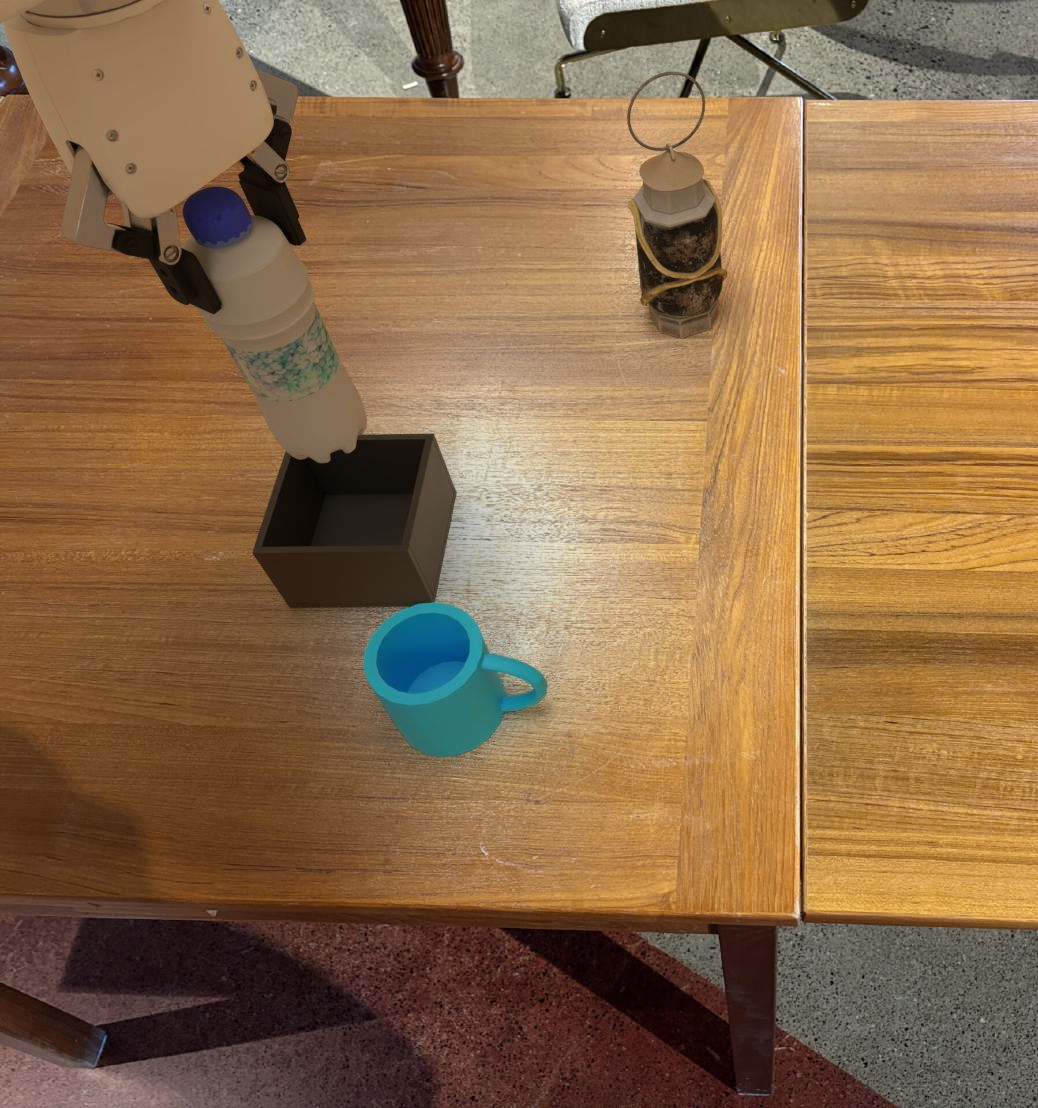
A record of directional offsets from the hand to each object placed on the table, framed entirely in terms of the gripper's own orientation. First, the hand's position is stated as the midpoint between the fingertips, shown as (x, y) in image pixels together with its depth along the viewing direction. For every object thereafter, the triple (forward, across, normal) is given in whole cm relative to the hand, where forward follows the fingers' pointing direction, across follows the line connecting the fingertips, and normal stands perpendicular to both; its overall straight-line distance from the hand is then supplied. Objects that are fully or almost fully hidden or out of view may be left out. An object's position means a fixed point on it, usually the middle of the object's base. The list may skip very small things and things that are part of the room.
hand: (243, 267), depth 63 cm
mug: (+31, +7, +15) cm, 35 cm away
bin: (+30, 0, -2) cm, 30 cm away
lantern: (+31, -37, +5) cm, 48 cm away
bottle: (+15, 0, 0) cm, 15 cm away
